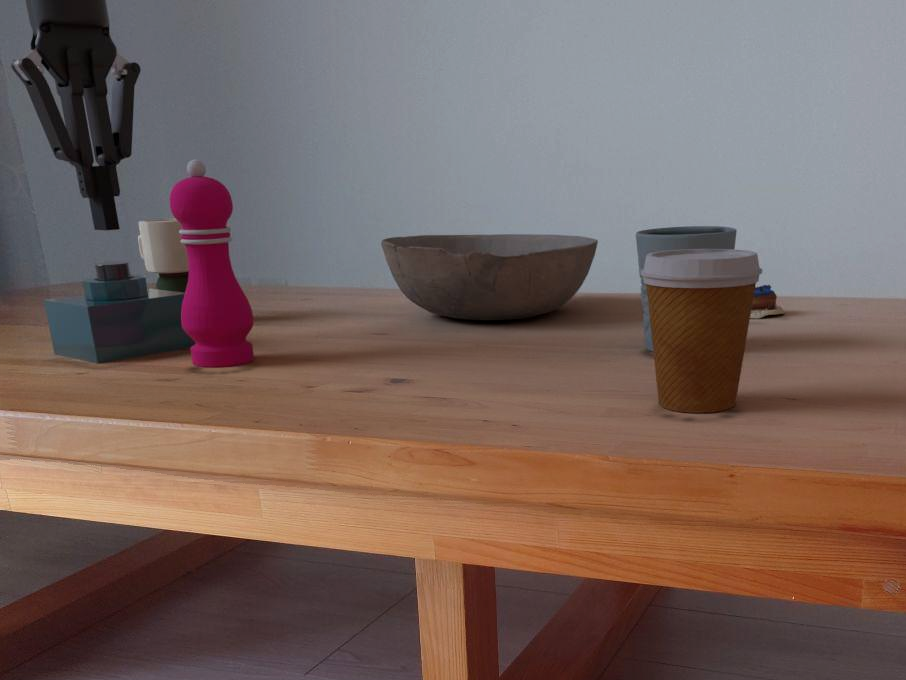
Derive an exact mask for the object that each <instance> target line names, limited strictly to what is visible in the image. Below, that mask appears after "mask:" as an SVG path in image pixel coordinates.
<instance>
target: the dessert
mask: <svg viewBox="0 0 906 680" xmlns="http://www.w3.org/2000/svg"><path fill="white" fill-rule="evenodd" d="M777 297H778V295H777V294H776V293H775V291H774V290H773V289H772V286H771V285H770V284H763V285H760V286H755V291H754V297H753V304H752V309H751V315H750V319H755V320H757V319H761V318H764V317H765V316H769V315H770V316H771V315H772V316H774V315H780V314H781V315H782V314H785V310H784V308H783V307H781V306H780V305H778V304H777V299H778V298H777Z"/></svg>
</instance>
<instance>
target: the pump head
mask: <svg viewBox="0 0 906 680" xmlns="http://www.w3.org/2000/svg"><path fill="white" fill-rule="evenodd" d="M93 266H94V271H95V277H97V281H109V280H122V279H130V278H132V277H131V275H132V272H131V265H130V262H129V261H104V262H97V263H94V264H93Z"/></svg>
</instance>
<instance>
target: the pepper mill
mask: <svg viewBox="0 0 906 680" xmlns="http://www.w3.org/2000/svg"><path fill="white" fill-rule="evenodd" d="M186 165H187V166H186V171H187V174H188V175H189V177H186V178H183V179H181V180H179V181H177V183H176V184H174V185H173V187H172V189H171V191H170V195H169V209H170V212H171V214H172V216H173V218H176V219H177V220H178V222H179V223H180V224H181V225H182V227H183V229H181V230H179V233H180V234H181V238H182V239H181V243H182V244H185V246H186V251H187V255H188V263H189V277H188V283H187V287H186V291H185V295H184V299H183V303H182V310H181V323H182V328H183V330H184V331H185V332H186V333H187V334H188V335H189V336H190V337H191V338H192V339H193V340H194V341H195V343H196V344H195V345H194V346H192V347H191V348H189V349H190V355H191V362H192V365H193V366H195V367H198V368H199V367H200V368H227V367H228V368H229V367H235V366H241V365H246V364H248V363H251V362H253V361H254V360H255V356H254V348H253V343H252V342H251V341H249V340H247V337H248V335H249V334H250V332H251V331H252V329H253V327H254V324H255V318H254V314H253V309H252V306H251V303H250V302H249V299H248V297H247V296H246V294H245V292H244V290H243V289H242V286H241V284H240V283H239V281H238V279H237V278H236V275H235V272H234V270H233V266H232V263H231V257H230V242H232V241H233V237H231V233H230V232H231V231H232V228H231V227H229V226H227V224H228V221H229V220H230V218H231V216H232V214H233V210H234V205H233V199H232V196H231V193H230V191H229V190H228V188H227V187H226V186H225V185H224V184H223V182H220V181H219V180H218V179H215V178H213V177H209V176H205V175H206V174H207V173H206V172H207V168H206V165H205V164H204V162H203V161H201V160H199V159H192V160H190V161H189V162H188V163H187V164H186Z"/></svg>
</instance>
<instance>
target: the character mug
mask: <svg viewBox="0 0 906 680" xmlns="http://www.w3.org/2000/svg"><path fill="white" fill-rule="evenodd" d="M138 229H139V235H138V236H137V243H138V249H139V255H140V258H141V259H142V260H143V261H144V266H145V269H146V271H147V272H150V273H152V274H158V277H157V280H156V283H155V289H158V290H166V291H175V292H183V293H185V291H186V287H187V283H188V277H189V263H188V255H187V251H186V246H185V244H182V243H181V239H182V238H181V234H180V233H179V230H181V229H183V227H182V225H181V224H180V223H179V222H178V220H177V219H176V218H175V217H173V218H154V219H143V220H139V221H138Z"/></svg>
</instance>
